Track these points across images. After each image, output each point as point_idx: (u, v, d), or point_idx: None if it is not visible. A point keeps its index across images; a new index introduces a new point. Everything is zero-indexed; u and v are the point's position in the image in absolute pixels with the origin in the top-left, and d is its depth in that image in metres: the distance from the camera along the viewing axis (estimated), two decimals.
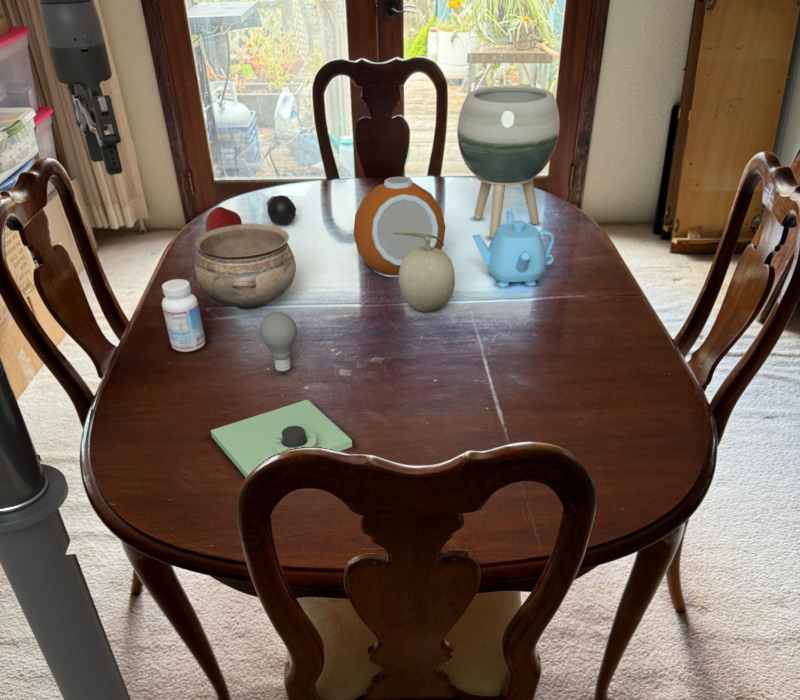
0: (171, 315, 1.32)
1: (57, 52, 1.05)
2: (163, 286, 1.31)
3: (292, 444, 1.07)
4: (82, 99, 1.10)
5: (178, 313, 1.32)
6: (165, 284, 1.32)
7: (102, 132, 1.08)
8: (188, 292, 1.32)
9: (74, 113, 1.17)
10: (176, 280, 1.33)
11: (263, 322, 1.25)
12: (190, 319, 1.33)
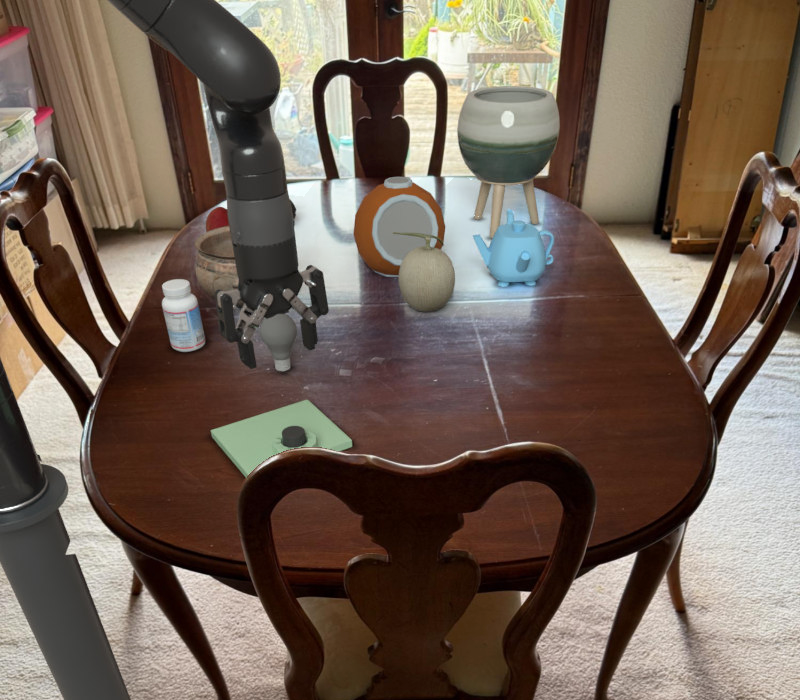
0: (171, 315, 1.32)
1: None
2: (163, 286, 1.31)
3: (292, 444, 1.07)
4: None
5: (178, 313, 1.32)
6: (165, 284, 1.32)
7: (219, 324, 0.96)
8: (188, 292, 1.32)
9: None
10: (176, 280, 1.33)
11: (263, 322, 1.25)
12: (190, 319, 1.33)
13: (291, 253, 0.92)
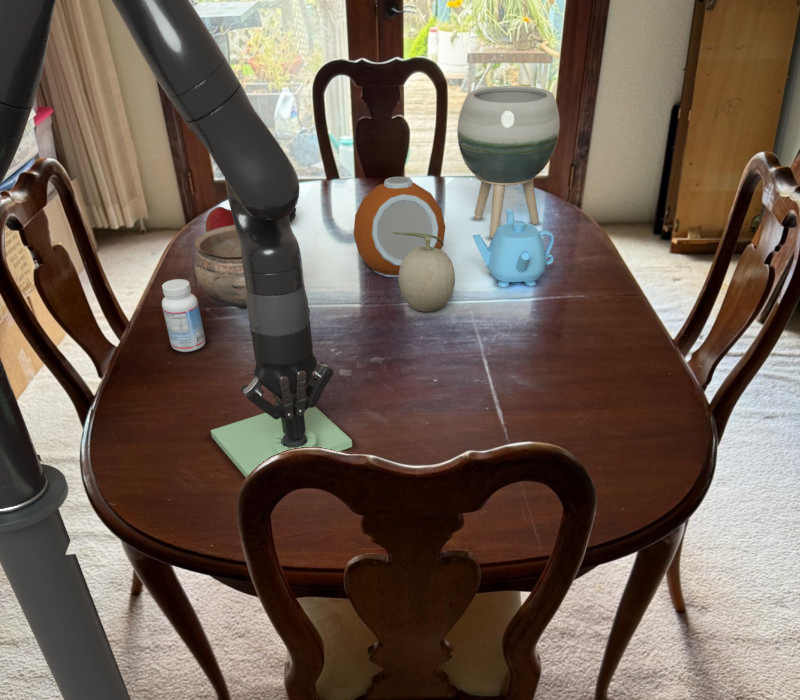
0: (171, 315, 1.32)
1: None
2: (163, 286, 1.31)
3: None
4: None
5: (178, 313, 1.32)
6: (165, 284, 1.32)
7: None
8: (188, 292, 1.32)
9: None
10: (176, 280, 1.33)
11: None
12: (190, 319, 1.33)
13: (306, 340, 0.97)
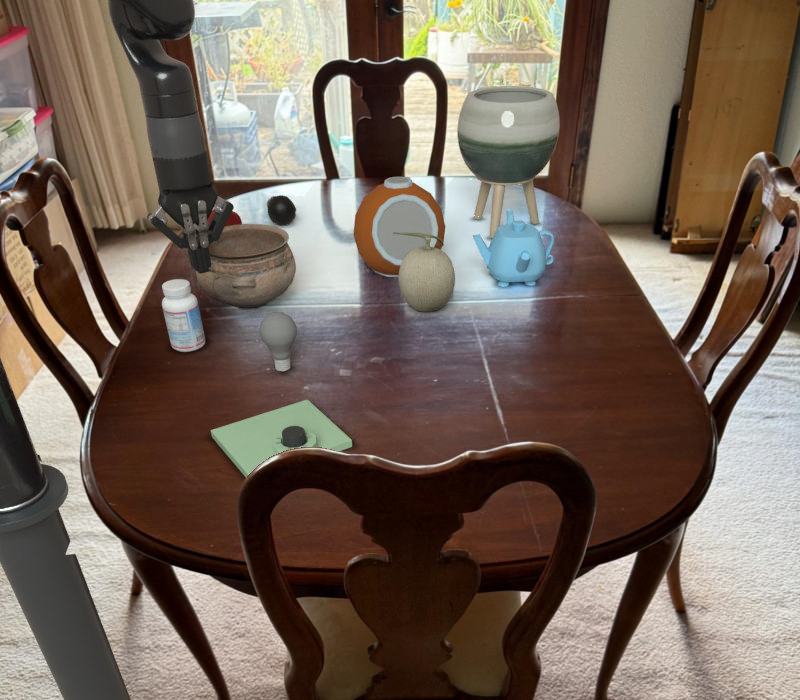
0: (171, 315, 1.32)
1: None
2: (163, 286, 1.31)
3: (292, 444, 1.07)
4: None
5: (178, 313, 1.32)
6: (165, 284, 1.32)
7: None
8: (188, 292, 1.32)
9: None
10: (176, 280, 1.33)
11: (263, 322, 1.25)
12: (190, 319, 1.33)
13: (202, 167, 1.08)
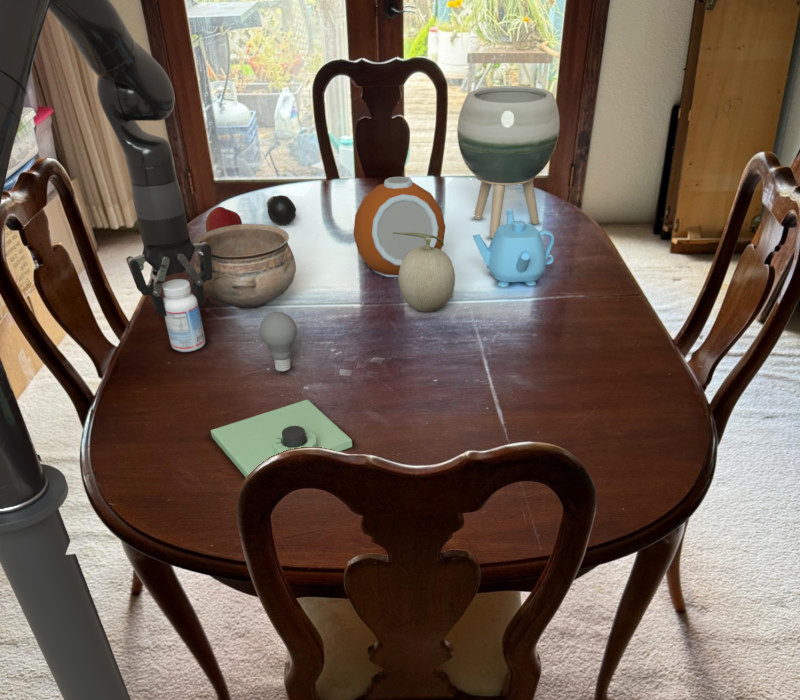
0: (171, 315, 1.32)
1: None
2: (163, 286, 1.31)
3: (292, 444, 1.07)
4: None
5: (178, 313, 1.32)
6: (165, 284, 1.32)
7: (135, 282, 1.29)
8: (188, 292, 1.32)
9: None
10: (176, 280, 1.33)
11: (263, 322, 1.25)
12: (190, 319, 1.33)
13: (181, 226, 1.24)
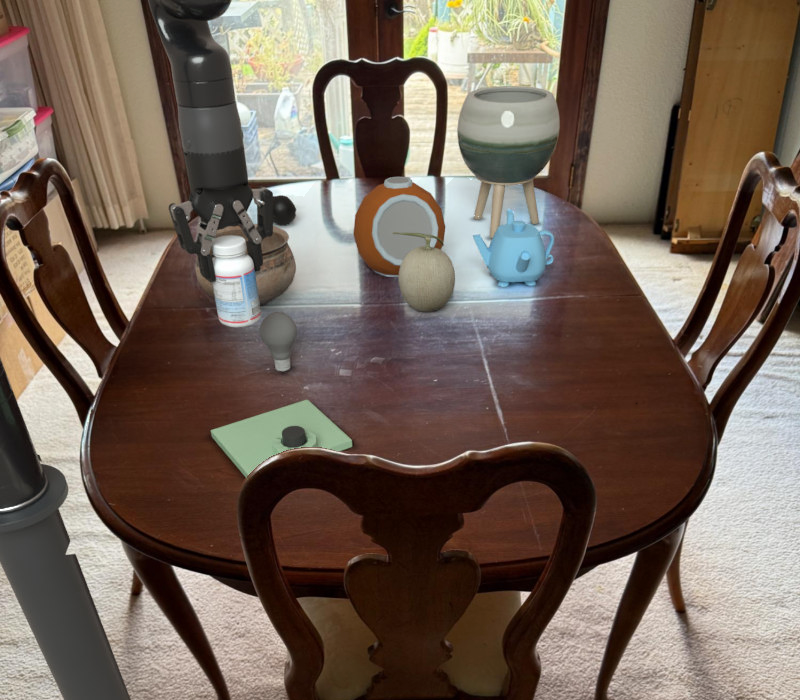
0: (221, 280, 1.05)
1: None
2: (212, 243, 1.04)
3: (292, 444, 1.07)
4: None
5: (231, 278, 1.05)
6: (215, 241, 1.05)
7: (178, 238, 1.02)
8: (244, 251, 1.05)
9: None
10: (227, 237, 1.06)
11: (263, 322, 1.25)
12: (246, 286, 1.07)
13: (239, 163, 0.97)
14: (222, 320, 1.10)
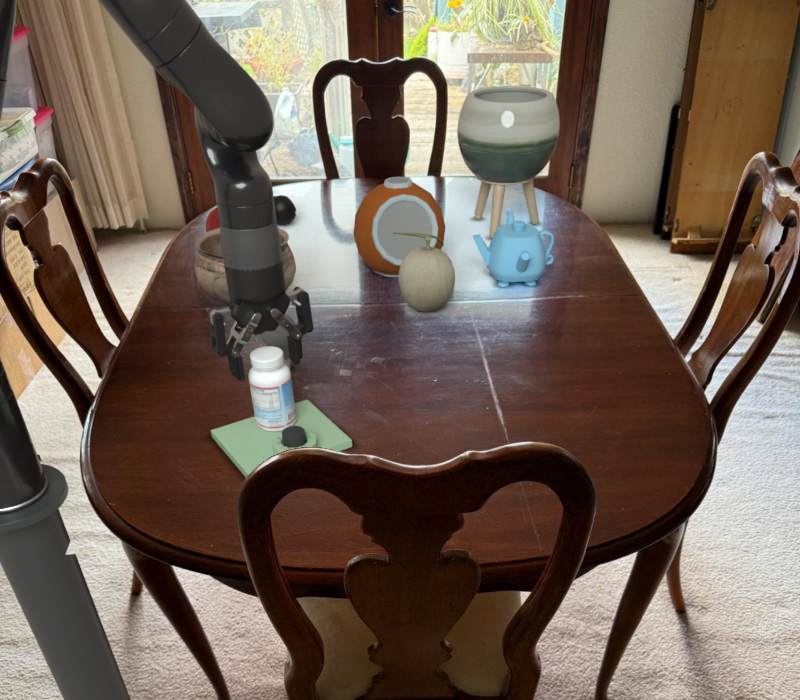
0: (260, 390, 1.09)
1: None
2: (252, 356, 1.08)
3: (292, 444, 1.07)
4: None
5: (269, 389, 1.09)
6: (253, 353, 1.09)
7: (211, 340, 1.04)
8: (281, 363, 1.09)
9: None
10: (266, 348, 1.10)
11: None
12: (283, 395, 1.10)
13: (278, 277, 1.00)
14: (259, 425, 1.14)
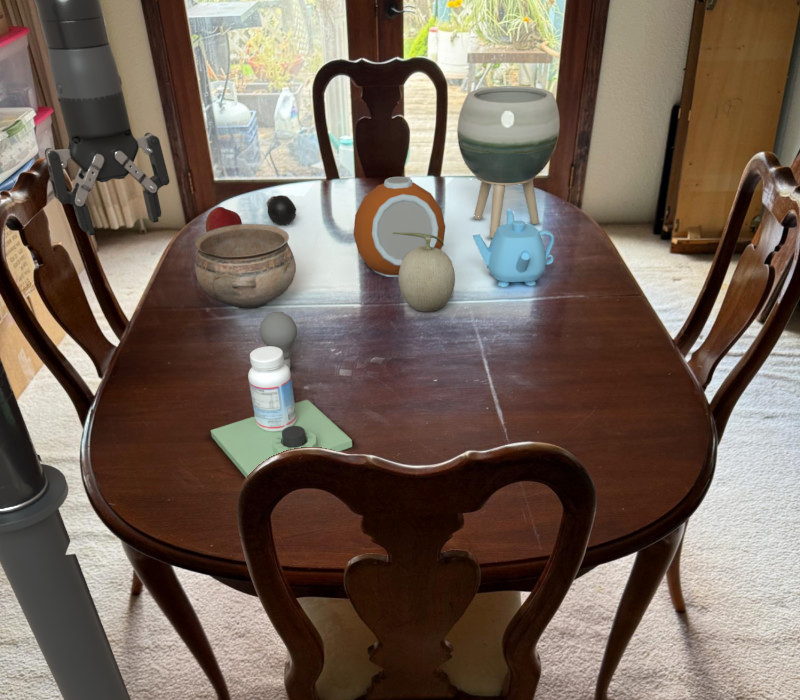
0: (260, 390, 1.09)
1: None
2: (251, 356, 1.08)
3: (292, 444, 1.07)
4: None
5: (268, 389, 1.09)
6: (253, 353, 1.09)
7: (52, 186, 0.97)
8: (281, 363, 1.09)
9: None
10: (266, 348, 1.10)
11: (263, 322, 1.25)
12: (283, 395, 1.10)
13: (117, 110, 0.93)
14: (259, 425, 1.14)
